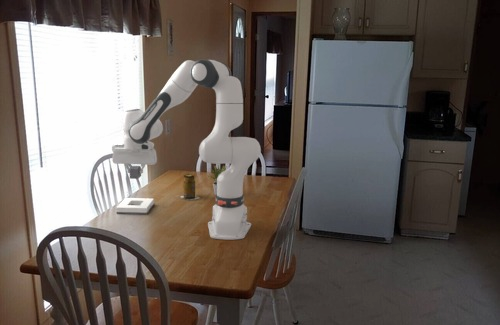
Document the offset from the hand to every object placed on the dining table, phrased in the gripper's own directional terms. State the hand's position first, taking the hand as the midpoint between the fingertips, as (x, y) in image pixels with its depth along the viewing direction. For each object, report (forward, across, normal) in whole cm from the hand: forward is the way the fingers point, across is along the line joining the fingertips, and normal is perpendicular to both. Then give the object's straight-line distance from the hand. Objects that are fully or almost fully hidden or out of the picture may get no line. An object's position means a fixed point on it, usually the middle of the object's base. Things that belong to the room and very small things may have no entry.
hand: (135, 173), depth 208 cm
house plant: (+18, +38, +24) cm, 48 cm away
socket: (+18, 0, -1) cm, 18 cm away
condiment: (+18, +22, +18) cm, 34 cm away
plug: (+2, 0, 0) cm, 2 cm away
